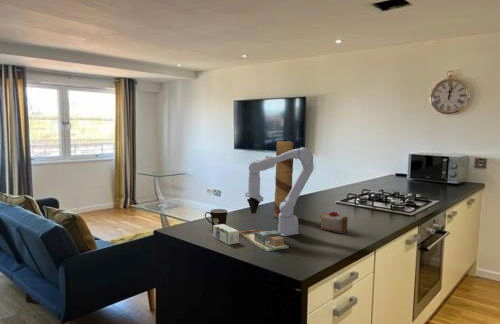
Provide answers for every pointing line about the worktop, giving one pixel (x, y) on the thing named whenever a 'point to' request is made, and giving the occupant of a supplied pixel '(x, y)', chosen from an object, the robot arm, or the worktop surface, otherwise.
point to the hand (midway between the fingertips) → (253, 213)
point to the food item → (334, 222)
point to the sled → (274, 241)
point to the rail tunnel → (261, 238)
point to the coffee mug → (217, 216)
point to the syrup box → (226, 234)
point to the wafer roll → (283, 175)
